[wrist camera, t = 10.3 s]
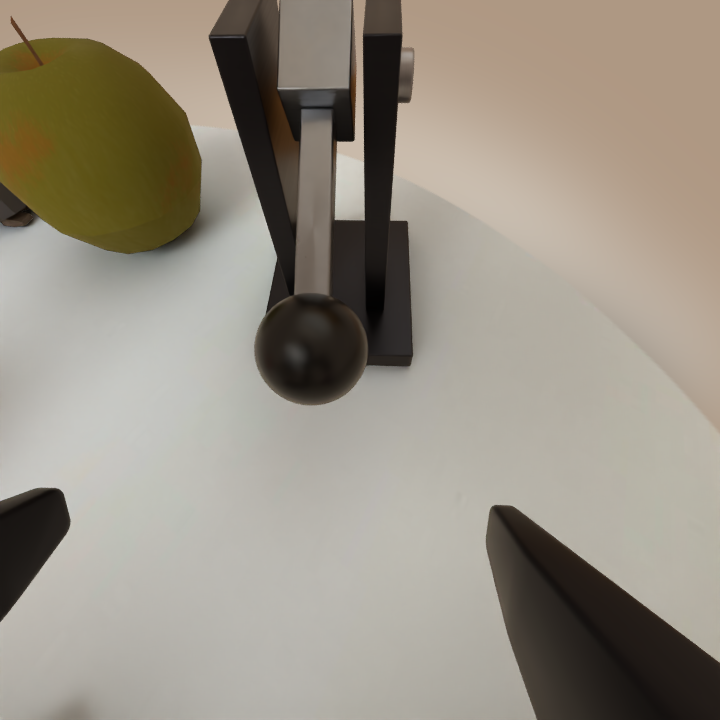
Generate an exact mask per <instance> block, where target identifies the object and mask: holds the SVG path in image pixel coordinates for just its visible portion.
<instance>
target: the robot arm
mask: <svg viewBox="0 0 720 720" xmlns="http://www.w3.org/2000/svg"><path fill="white" fill-rule="evenodd" d="M69 527H70V516H69V512H68V509H67V505H66V501H65V497H64V494H63V492H62V491H61V490H60V489H57V488H36V489H33V490H30V491H27V492H25V493H22V494H19V495H16V496H14V497H11V498H8V499H5V500H3V501H0V622H1V621H2V620H3V618H4V617H5V616H6V615H7V613H8V612H9V611H10V610H11V608H12V607H13V606H14V604H15V603H16V602H17V600H18V599H19V598H20V597H21V595H22V594H23V592H24V591H25V590H26V588H27V587H28V586H29V584H30V583H31V581H32V580H33V579H34V577H35V576H36V575H37V573H38V572H39V571H40V569H41V568H42V566H43V565H44V564H45V562H46V561H47V560H48V558H49V557H50V555H51V554H52V553H53V551H54V550H55V549H56V547H57V546H58V545H59V543H60V542H61V540H62V539H63V538H64V536H65V535H66V533H67V532H68V530H69ZM486 548H487V553H488V557H489V561H490V565H491V569H492V573H493V578H494V582H495V586H496V590H497V594H498V598H499V602H500V606H501V610H502V614H503V618H504V622H505V626H506V629H507V633H508V637H509V640H510V643H511V646H512V649H513V652H514V655H515V658H516V661H517V663H518V666H519V669H520V672H521V675H522V678H523V681H524V683H525V686H526V689H527V692H528V695H529V698H530V701H531V703H532V706H533V709H534V712H535V715H536V718H537V720H720V663H719V662H718V661H717V660H715V659H714V658H713V657H711V656H710V655H709V654H707V653H706V652H705V651H703V650H702V649H701V648H699V647H698V646H697V645H696V644H694V643H693V642H692V641H690V640H689V639H688V638H686V637H685V636H684V635H682V634H681V633H680V632H678V631H677V630H676V629H674V628H673V627H672V626H671V625H669V624H668V623H667V622H665V621H664V620H663V619H661V618H660V617H659V616H657V615H656V614H655V613H653V612H652V611H651V610H649V609H648V608H647V607H645V606H644V605H643V604H642V603H640V602H639V601H638V600H636V599H635V598H634V597H632V596H631V595H630V594H628V593H627V592H626V591H624V590H623V589H622V588H620V587H619V586H618V585H616V584H615V583H614V582H613V581H611V580H610V579H609V578H607V577H606V576H605V575H603V574H602V573H601V572H599V571H598V570H597V569H595V568H594V567H593V566H591V565H590V564H589V563H587V562H586V561H585V560H584V559H582V558H581V557H580V556H578V555H577V554H576V553H574V552H573V551H572V550H570V549H569V548H568V547H566V546H565V545H564V544H562V543H561V542H560V541H559V540H557V539H556V538H555V537H553V536H552V535H551V534H549V533H548V532H547V531H545V530H544V529H543V528H541V527H540V526H539V525H537V524H536V523H535V522H533V521H532V520H531V519H530V518H528V517H527V516H526V515H524V514H523V513H522V512H520V511H519V510H518V509H516V508H515V507H513V506H507V505H494V506H492V507H491V509H490V513H489V520H488V527H487V534H486Z"/></svg>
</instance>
